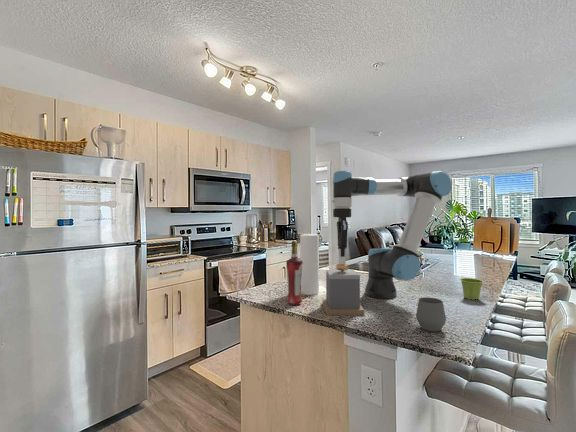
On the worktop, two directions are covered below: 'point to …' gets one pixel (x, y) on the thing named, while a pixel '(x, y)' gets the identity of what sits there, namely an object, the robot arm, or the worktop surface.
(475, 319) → the worktop surface
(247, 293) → the worktop surface
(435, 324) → the cup
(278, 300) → the worktop surface
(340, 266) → the plunger
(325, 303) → the press
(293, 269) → the liquor
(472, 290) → the plant pot
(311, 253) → the cylinder container
